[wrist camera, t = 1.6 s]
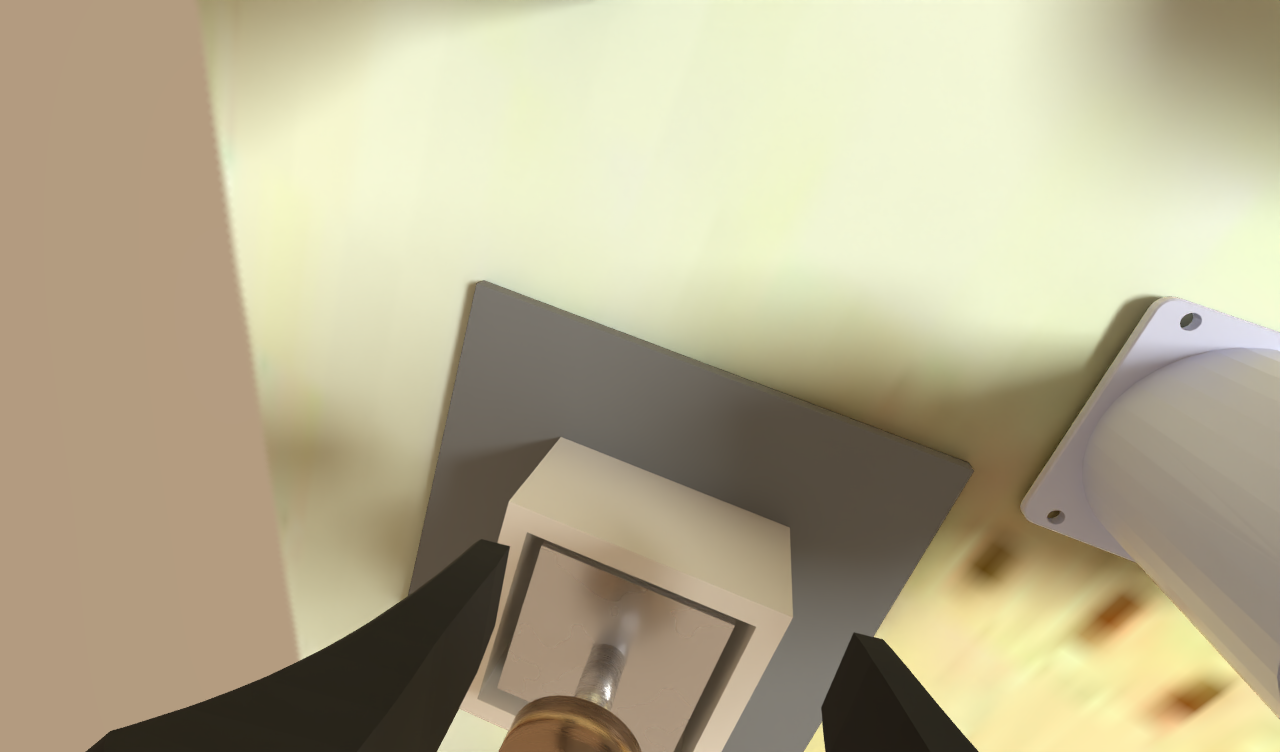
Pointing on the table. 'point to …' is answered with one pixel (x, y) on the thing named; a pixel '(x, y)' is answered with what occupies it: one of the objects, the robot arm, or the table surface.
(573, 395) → the mat
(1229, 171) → the table surface
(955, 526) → the table surface
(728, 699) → the press
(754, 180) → the table surface
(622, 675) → the plunger
